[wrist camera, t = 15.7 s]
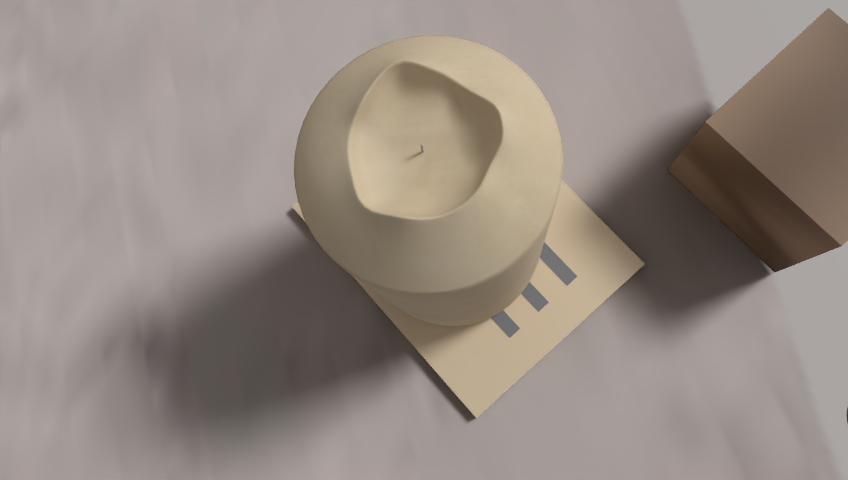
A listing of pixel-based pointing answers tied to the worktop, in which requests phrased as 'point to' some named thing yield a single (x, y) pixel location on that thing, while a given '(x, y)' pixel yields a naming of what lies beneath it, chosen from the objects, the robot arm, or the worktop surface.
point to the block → (781, 151)
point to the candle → (432, 176)
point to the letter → (525, 308)
